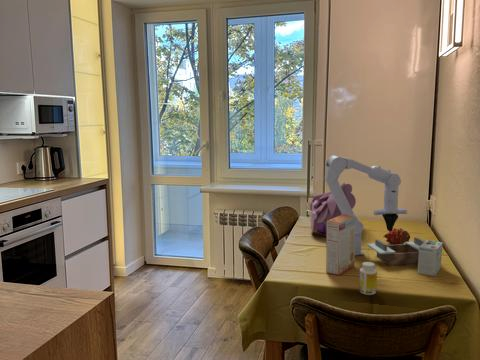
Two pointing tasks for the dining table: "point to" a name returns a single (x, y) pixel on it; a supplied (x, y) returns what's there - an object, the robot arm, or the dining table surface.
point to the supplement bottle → (368, 278)
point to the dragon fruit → (397, 236)
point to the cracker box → (340, 244)
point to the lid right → (415, 243)
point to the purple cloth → (327, 208)
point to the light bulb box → (430, 257)
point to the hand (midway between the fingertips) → (389, 230)
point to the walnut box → (400, 255)
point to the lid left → (381, 247)
